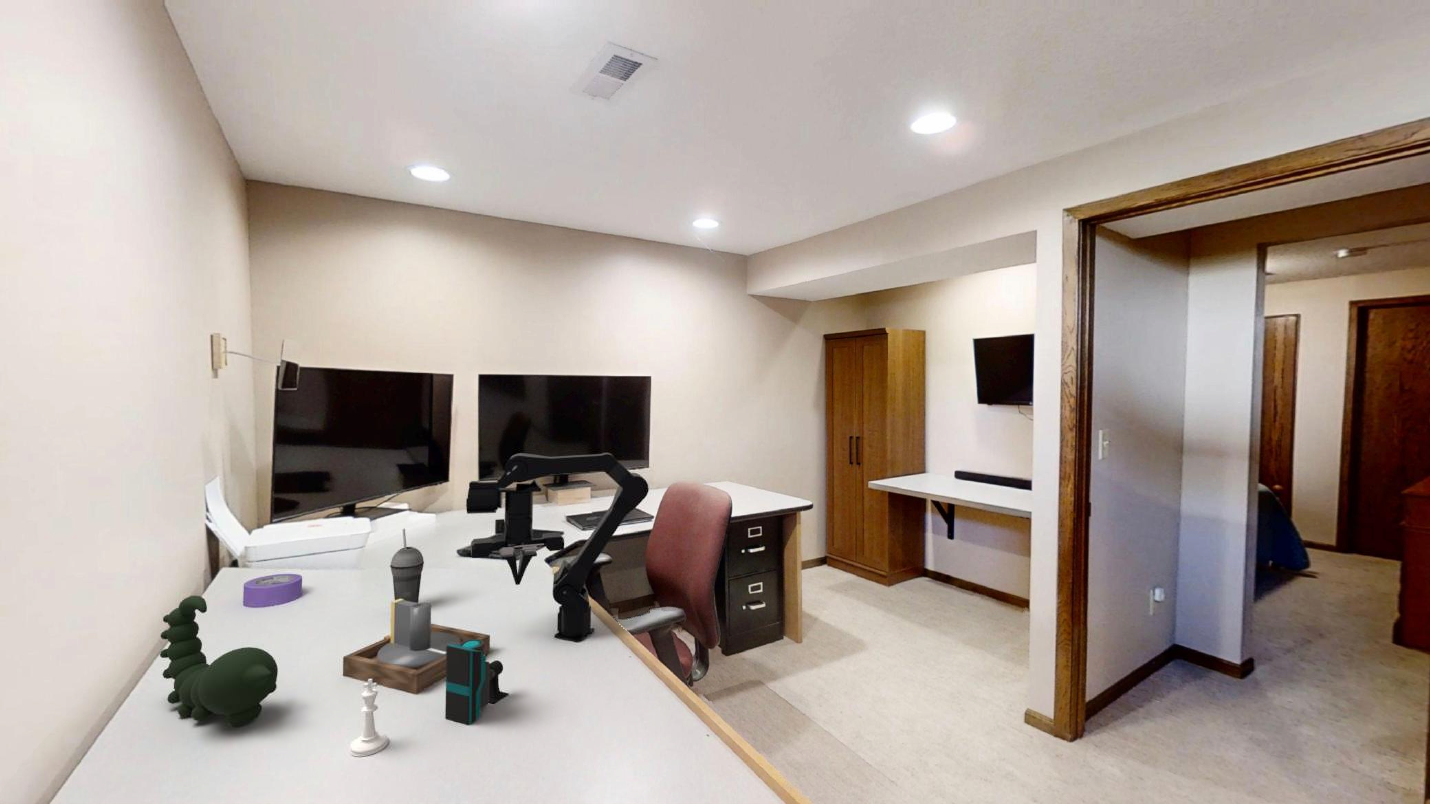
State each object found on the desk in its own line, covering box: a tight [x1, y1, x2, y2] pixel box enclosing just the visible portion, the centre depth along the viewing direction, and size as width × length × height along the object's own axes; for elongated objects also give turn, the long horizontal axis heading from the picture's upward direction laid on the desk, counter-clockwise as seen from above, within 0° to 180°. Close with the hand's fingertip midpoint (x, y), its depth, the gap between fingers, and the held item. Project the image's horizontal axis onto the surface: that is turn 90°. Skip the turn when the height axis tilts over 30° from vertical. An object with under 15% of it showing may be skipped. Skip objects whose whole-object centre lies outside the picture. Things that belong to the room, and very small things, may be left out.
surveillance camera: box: [444, 639, 509, 726], centre depth 96 cm, size 6×12×10 cm
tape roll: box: [242, 573, 303, 608], centre depth 144 cm, size 12×12×5 cm
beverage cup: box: [389, 528, 425, 603], centre depth 137 cm, size 7×7×20 cm
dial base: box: [342, 623, 491, 695], centre depth 111 cm, size 18×18×4 cm
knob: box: [377, 599, 460, 670], centre depth 111 cm, size 14×14×10 cm
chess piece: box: [348, 679, 389, 758], centre depth 84 cm, size 5×5×10 cm
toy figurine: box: [159, 595, 279, 728], centre depth 92 cm, size 10×19×26 cm
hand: (517, 584), depth 122 cm, fingers closed
